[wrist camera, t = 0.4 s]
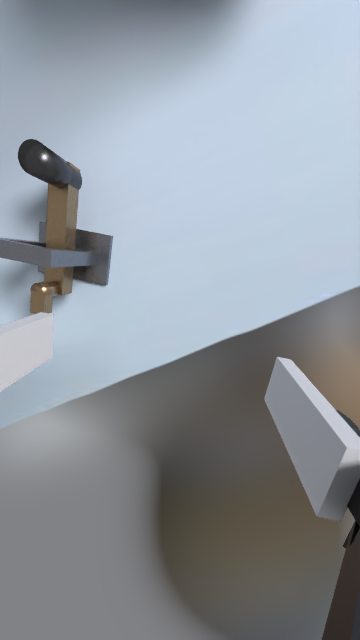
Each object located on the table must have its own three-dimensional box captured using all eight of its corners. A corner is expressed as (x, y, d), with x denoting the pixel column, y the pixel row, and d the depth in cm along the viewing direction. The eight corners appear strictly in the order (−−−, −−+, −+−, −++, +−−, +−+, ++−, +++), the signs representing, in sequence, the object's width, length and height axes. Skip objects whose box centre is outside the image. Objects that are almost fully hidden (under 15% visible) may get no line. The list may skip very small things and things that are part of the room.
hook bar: (58, 163, 34) (18, 136, 26) (82, 168, 34) (49, 142, 26) (52, 303, 39) (16, 313, 32) (72, 307, 39) (42, 319, 32)
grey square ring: (42, 222, 39) (-37, 204, 26) (112, 236, 39) (68, 224, 26) (41, 270, 41) (-33, 276, 28) (107, 284, 41) (63, 296, 28)
